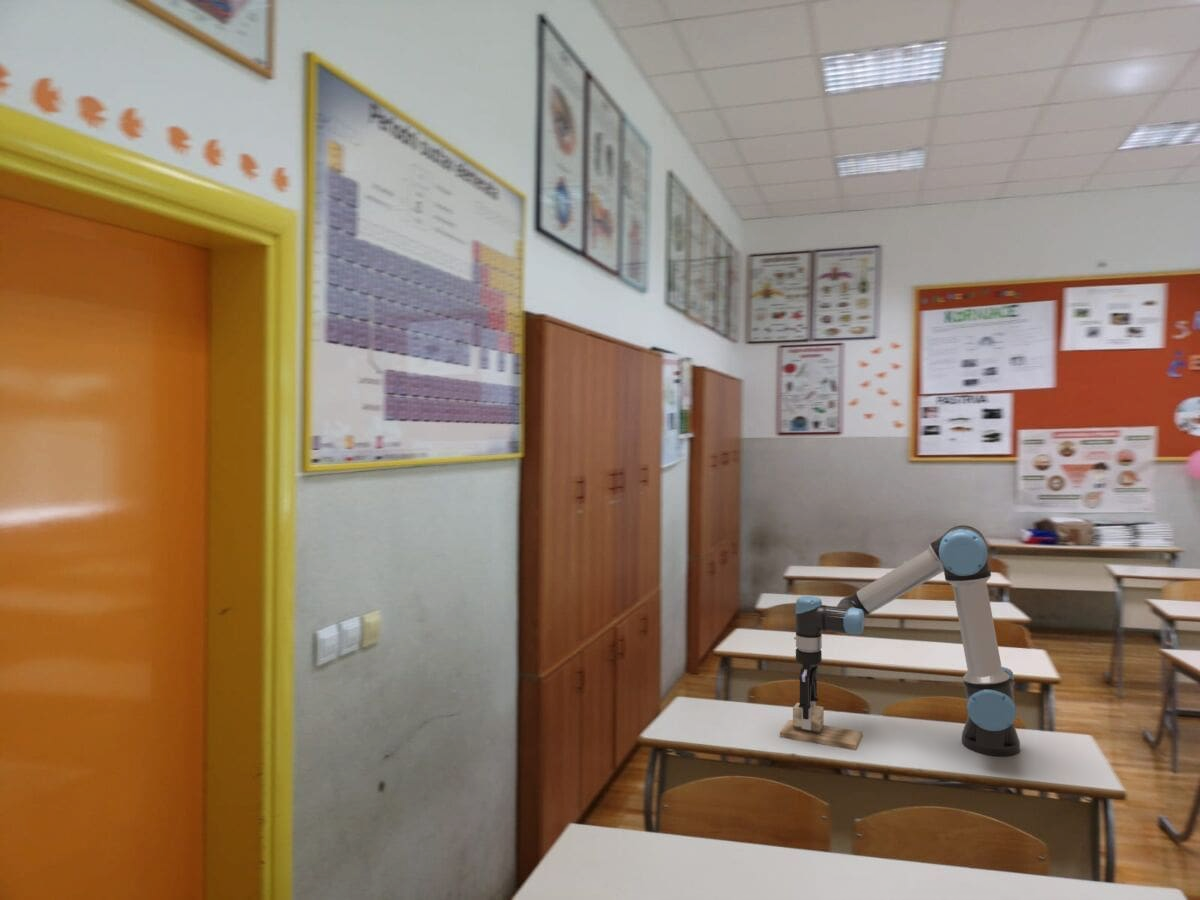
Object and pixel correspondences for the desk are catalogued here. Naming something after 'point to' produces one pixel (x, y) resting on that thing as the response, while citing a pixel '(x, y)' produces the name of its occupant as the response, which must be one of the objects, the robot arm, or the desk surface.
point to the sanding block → (816, 717)
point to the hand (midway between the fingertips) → (808, 725)
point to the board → (824, 736)
